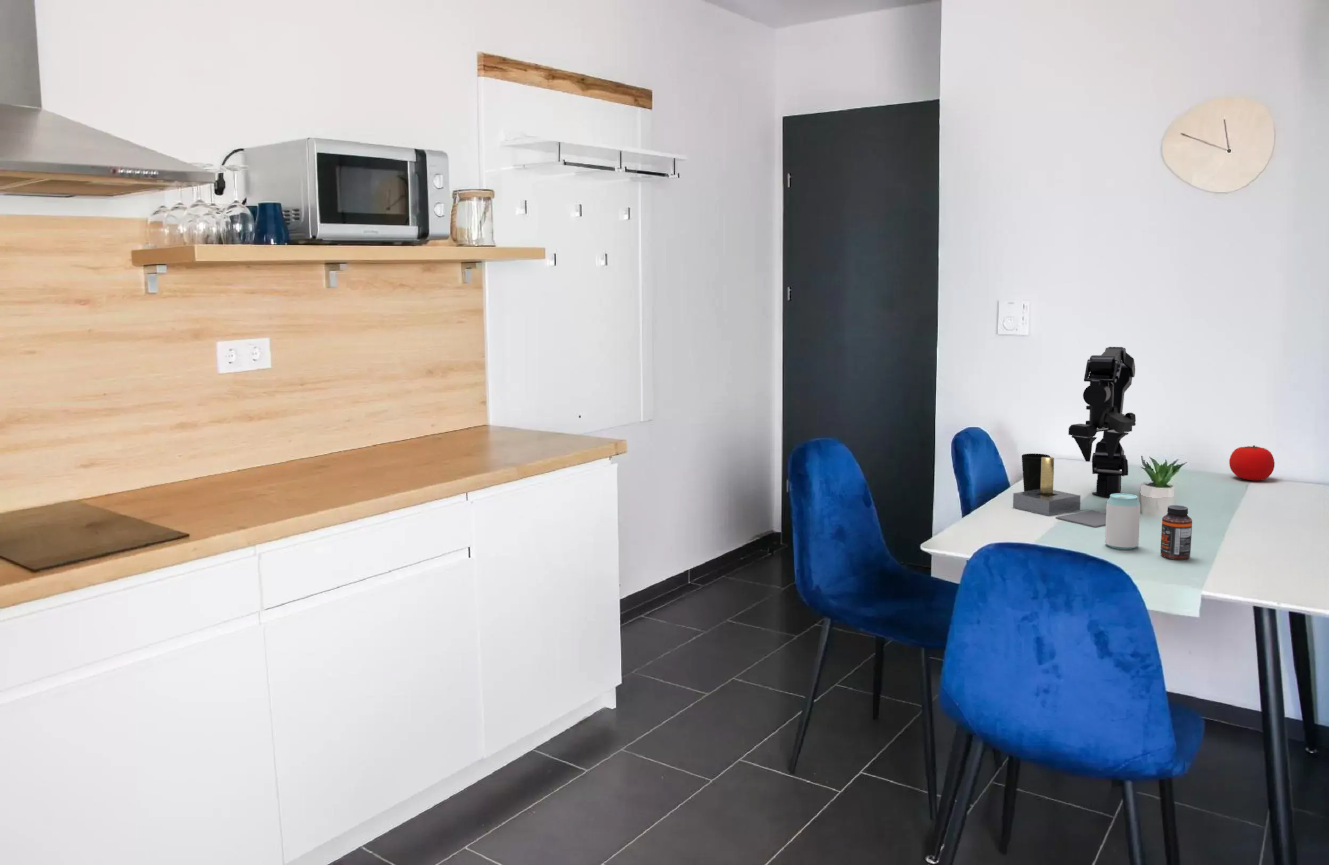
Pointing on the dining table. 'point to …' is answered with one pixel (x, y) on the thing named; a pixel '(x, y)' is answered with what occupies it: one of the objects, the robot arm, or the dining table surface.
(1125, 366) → the robot arm
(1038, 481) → the cup
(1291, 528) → the dining table surface
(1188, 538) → the supplement bottle
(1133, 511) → the can
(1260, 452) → the tomato
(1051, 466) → the pin
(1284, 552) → the dining table surface
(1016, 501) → the grey square hole block
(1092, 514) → the mat
